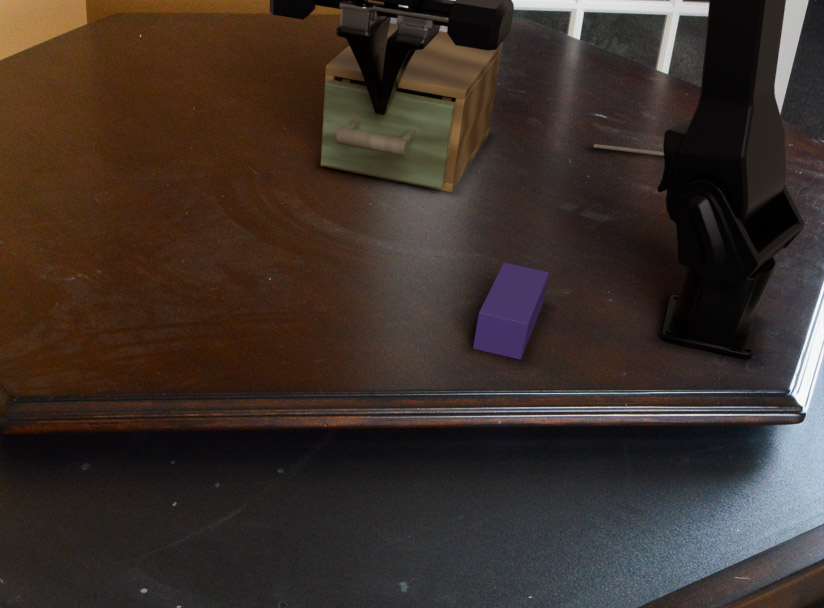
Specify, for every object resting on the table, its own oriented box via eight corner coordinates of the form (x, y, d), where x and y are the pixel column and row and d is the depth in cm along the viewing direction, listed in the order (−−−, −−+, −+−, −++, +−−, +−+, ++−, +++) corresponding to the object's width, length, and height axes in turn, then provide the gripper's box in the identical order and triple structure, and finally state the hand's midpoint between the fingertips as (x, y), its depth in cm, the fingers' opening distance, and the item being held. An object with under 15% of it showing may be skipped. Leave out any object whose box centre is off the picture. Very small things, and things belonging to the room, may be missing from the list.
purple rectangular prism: (541, 307, 80) (549, 272, 78) (520, 360, 74) (528, 323, 72) (497, 297, 81) (503, 262, 79) (472, 349, 75) (478, 312, 73)
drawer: (428, 208, 90) (439, 124, 85) (303, 183, 92) (307, 99, 88) (477, 135, 103) (488, 58, 98) (366, 115, 105) (372, 39, 101)
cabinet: (451, 192, 95) (465, 90, 89) (320, 166, 98) (325, 65, 92) (488, 136, 105) (503, 41, 99) (368, 113, 108) (376, 20, 102)
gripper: (543, -99, 83) (509, 101, 93) (319, -129, 87) (311, 66, 97) (513, -69, 74) (480, 146, 85) (268, -104, 79) (265, 105, 89)
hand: (381, 113), depth 89 cm, fingers closed
